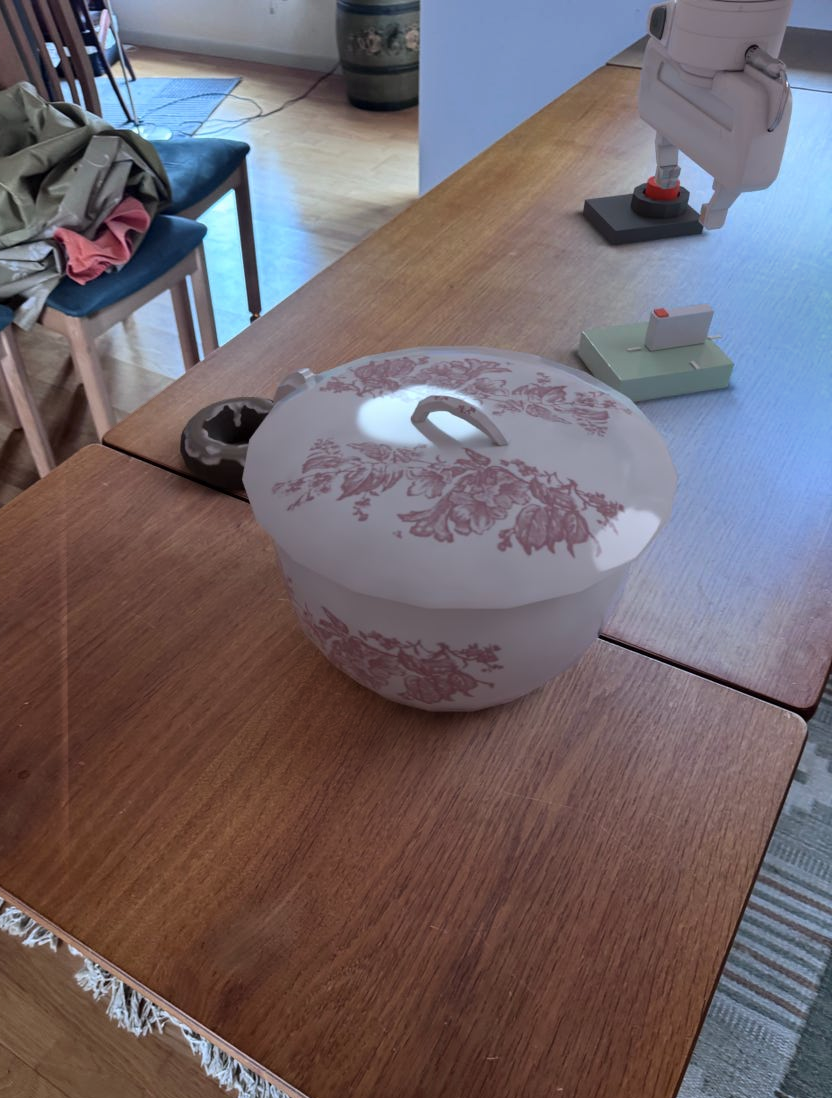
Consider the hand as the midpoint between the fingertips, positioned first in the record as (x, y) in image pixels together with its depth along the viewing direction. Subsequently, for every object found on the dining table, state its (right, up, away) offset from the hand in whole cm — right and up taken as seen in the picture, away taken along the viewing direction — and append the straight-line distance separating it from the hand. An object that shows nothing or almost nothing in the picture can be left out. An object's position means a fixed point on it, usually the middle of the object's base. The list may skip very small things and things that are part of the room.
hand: (686, 205), depth 84 cm
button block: (+6, +14, +34) cm, 37 cm away
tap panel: (0, -13, +10) cm, 16 cm away
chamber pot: (-24, -40, -14) cm, 48 cm away
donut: (-41, -23, +2) cm, 47 cm away
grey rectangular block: (+2, -10, +8) cm, 13 cm away
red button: (+8, +16, +31) cm, 36 cm away
